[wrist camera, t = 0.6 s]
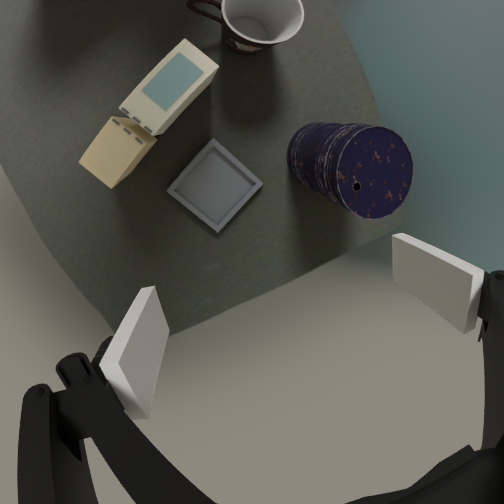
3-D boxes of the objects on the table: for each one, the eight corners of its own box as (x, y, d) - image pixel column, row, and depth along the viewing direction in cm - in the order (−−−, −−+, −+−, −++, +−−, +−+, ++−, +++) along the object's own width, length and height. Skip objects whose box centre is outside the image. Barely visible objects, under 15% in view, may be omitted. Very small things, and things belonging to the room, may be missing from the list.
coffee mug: (289, 34, 32) (319, 12, 23) (250, 74, 34) (270, 59, 25) (224, -13, 27) (236, -48, 19) (182, 26, 29) (180, -3, 20)
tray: (166, 188, 38) (166, 191, 37) (212, 137, 36) (213, 137, 35) (216, 229, 42) (217, 232, 40) (261, 181, 40) (263, 183, 39)
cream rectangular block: (106, 152, 34) (77, 162, 24) (132, 119, 33) (111, 116, 23) (131, 172, 36) (110, 189, 26) (157, 139, 35) (145, 144, 25)
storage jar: (332, 111, 38) (397, 110, 24) (357, 169, 42) (423, 193, 29) (273, 141, 38) (319, 150, 25) (303, 200, 43) (355, 238, 29)
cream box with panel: (137, 113, 33) (118, 107, 23) (185, 61, 32) (184, 37, 21) (162, 133, 35) (152, 135, 25) (210, 82, 33) (219, 66, 23)
